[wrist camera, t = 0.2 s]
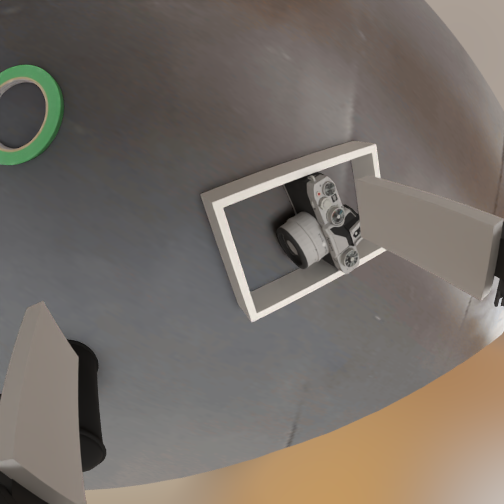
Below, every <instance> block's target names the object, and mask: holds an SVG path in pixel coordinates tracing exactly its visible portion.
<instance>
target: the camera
mask: <svg viewBox="0 0 504 504" xmlns="http://www.w3.org/2000/svg"><path fill="white" fill-rule="evenodd" d="M283 187H284V189H285V191H286V193H287V196H288V198H289V200H290V203H291V205H292V207H293V209H294V212H295V214H296V215H295V216H294V217H291V218H289V219H288V220H287V222H286V223H285V224H283V225H282V226H280V227H279V228H278V229H277V230H276V234H277V237H278V240H279V242H280V244H281V246H282V248H283V249H284V251H285V252H286V254H287V255H288V256H289V258H290V259H291V260H292V261H293V262H294V263H295V264H296V265H297V266H298V267H300V268H301V269H306V268H307V267H309V266H310V265H312V264H313V263H314V262H318V261H320V260H321V259H323V260H324V261H326V262H327V263H329V264H331V265H332V266H334V267H335V268H337V269H338V270H340V271H342V272H343V273H345V274H348V273H350V272H351V271H352V270H353V269H355V268H356V267H357V266H358V265H359V254H358V251H357V249H356V246H357V244H358V243H359V242H360V241H361V240H362V239H363V238H362V237H361V230H360V217H359V214H357V213H356V212H355V211H354V210H353V209H352V208H350V207H349V206H347V205H342V203H341V200H340V197H339V195H338V192H337V189H336V185H335V184H334V183H333V181H332V180H331V179H330V178H329V177H327V176H324V175H323V174H321V173H318V172H315V173H312V174H309V175H307V176H304V177H301V178H298V179H296V180H293V181H290V182H288V183H285V184H283Z"/></svg>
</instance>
